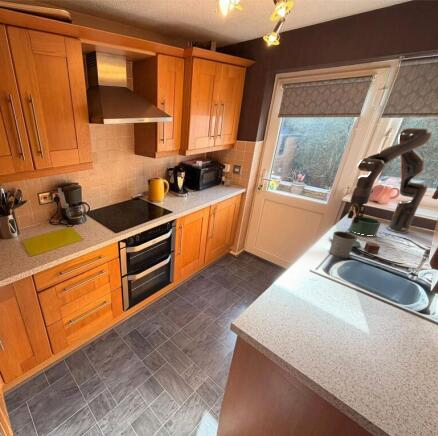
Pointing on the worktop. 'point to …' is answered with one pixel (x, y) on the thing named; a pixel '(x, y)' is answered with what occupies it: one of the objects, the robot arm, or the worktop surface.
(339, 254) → the grey cup
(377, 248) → the block
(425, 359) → the worktop surface
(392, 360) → the worktop surface
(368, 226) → the tin
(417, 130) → the robot arm
